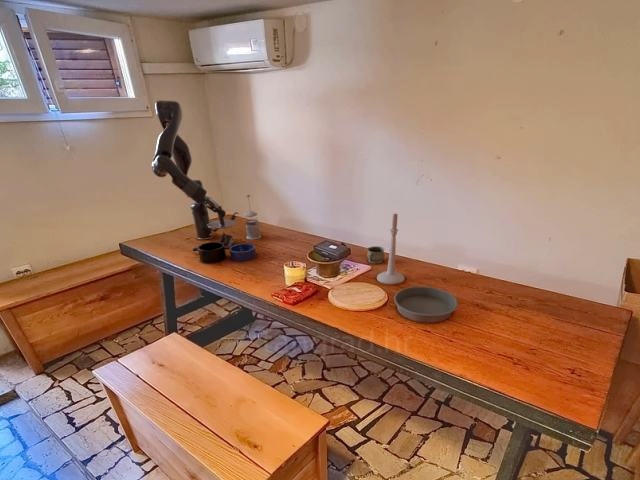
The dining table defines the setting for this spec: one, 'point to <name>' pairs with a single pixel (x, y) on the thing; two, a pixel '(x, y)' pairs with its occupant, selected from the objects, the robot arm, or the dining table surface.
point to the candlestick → (391, 260)
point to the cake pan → (425, 304)
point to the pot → (212, 252)
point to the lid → (221, 222)
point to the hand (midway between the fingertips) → (224, 214)
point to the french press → (252, 225)
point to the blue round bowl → (242, 252)
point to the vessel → (375, 254)
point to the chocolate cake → (227, 239)
